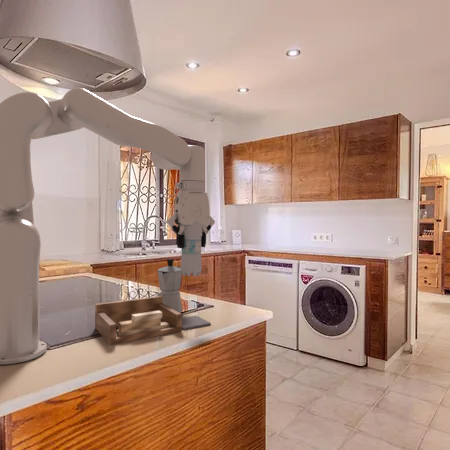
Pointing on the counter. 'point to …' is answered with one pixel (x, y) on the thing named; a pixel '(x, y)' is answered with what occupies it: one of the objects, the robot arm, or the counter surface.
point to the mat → (193, 322)
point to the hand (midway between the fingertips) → (191, 246)
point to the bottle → (192, 250)
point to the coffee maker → (170, 285)
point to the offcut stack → (142, 323)
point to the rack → (123, 310)
